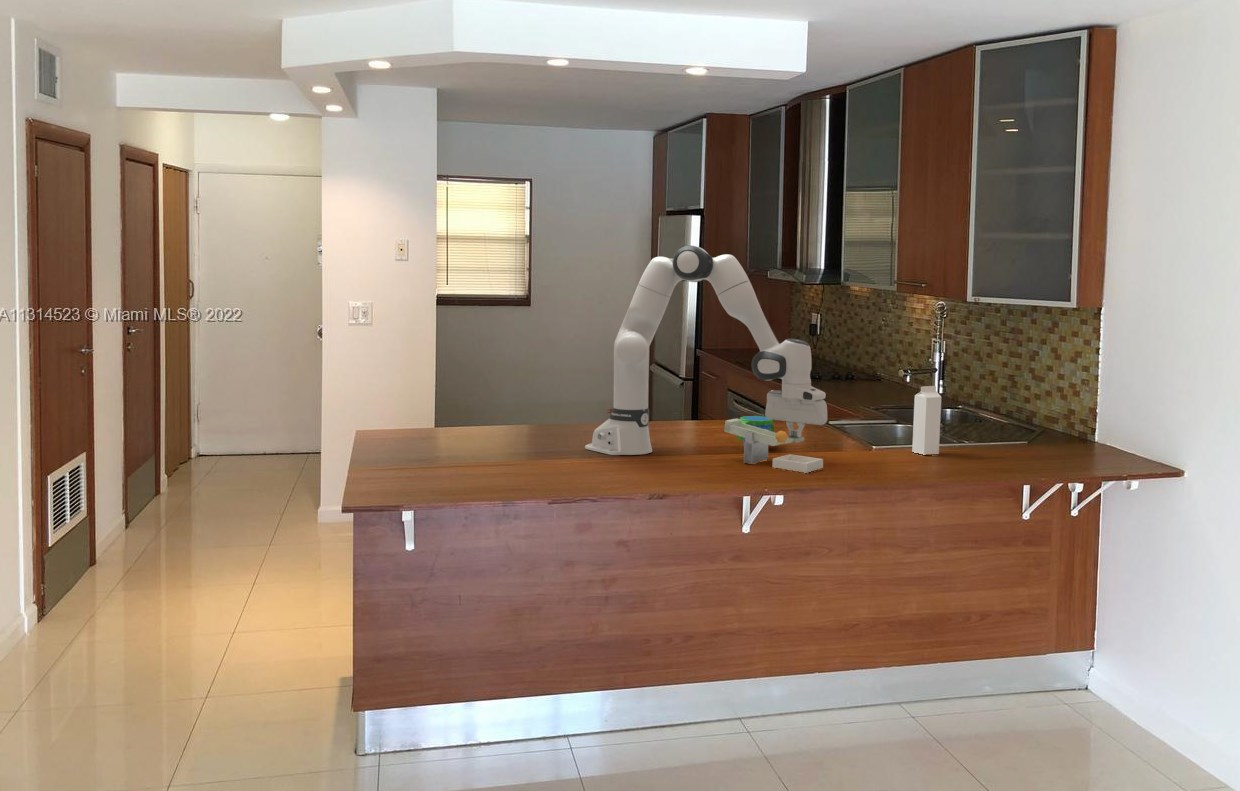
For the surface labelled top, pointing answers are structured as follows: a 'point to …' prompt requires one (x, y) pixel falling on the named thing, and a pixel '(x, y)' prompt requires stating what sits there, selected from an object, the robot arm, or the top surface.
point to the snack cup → (757, 423)
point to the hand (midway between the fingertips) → (795, 436)
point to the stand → (754, 449)
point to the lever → (756, 433)
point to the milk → (926, 421)
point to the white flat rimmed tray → (798, 463)
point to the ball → (781, 436)
